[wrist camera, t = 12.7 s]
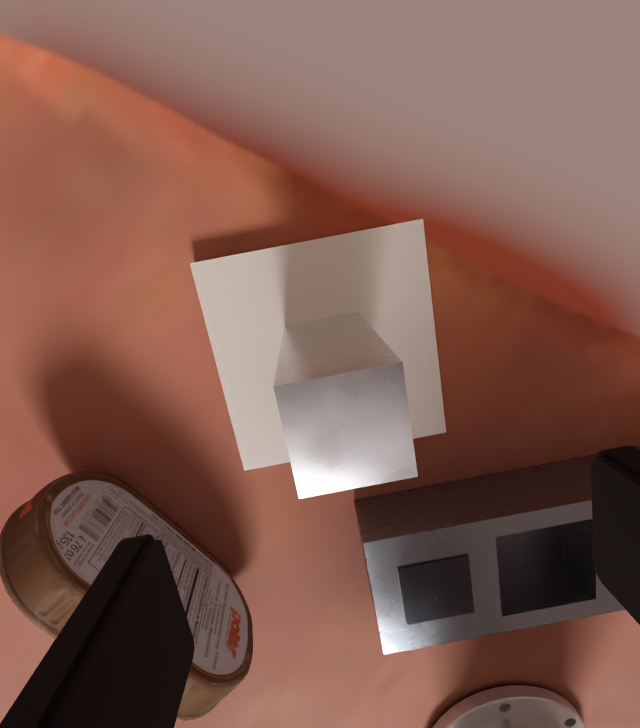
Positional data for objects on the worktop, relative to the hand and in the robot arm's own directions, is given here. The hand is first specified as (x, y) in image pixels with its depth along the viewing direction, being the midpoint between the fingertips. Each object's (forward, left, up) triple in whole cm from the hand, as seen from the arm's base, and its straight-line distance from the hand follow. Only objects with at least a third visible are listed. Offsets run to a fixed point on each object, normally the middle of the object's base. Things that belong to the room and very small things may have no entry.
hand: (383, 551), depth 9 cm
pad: (+1, 0, -16) cm, 16 cm away
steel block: (+1, 0, -15) cm, 15 cm away
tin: (-9, +12, -16) cm, 22 cm away
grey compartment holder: (-13, -10, -16) cm, 23 cm away
